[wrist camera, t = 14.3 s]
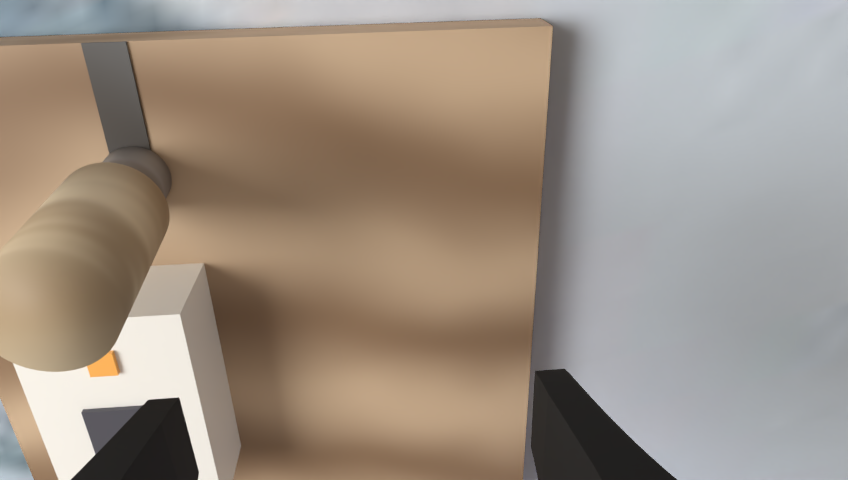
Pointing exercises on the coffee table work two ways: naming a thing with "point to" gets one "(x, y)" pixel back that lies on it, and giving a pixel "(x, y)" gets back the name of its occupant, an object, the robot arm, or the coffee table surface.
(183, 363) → the block
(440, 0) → the coffee table surface
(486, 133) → the subfloor board
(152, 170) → the awl
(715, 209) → the coffee table surface
